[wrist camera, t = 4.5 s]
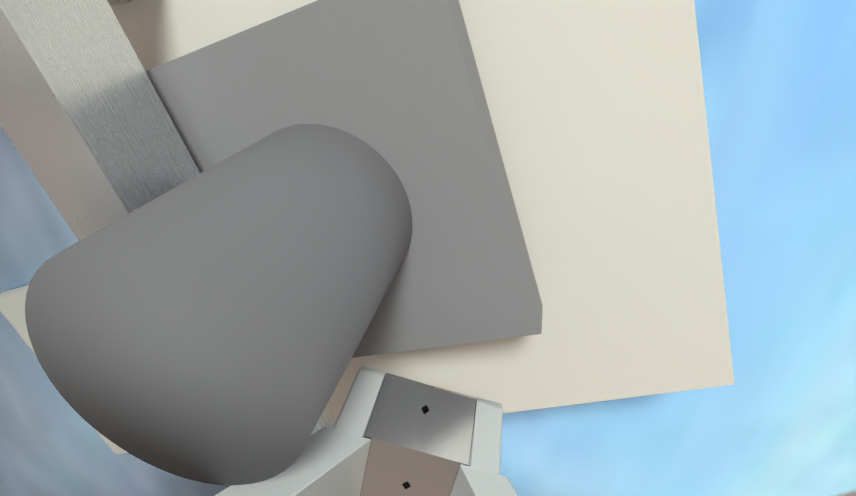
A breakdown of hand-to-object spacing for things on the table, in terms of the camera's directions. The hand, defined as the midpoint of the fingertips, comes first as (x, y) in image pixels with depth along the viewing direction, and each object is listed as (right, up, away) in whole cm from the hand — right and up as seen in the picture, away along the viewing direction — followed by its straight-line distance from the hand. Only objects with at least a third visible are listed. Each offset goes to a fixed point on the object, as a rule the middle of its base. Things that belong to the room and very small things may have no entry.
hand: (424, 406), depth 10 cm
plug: (-1, +6, +4) cm, 7 cm away
